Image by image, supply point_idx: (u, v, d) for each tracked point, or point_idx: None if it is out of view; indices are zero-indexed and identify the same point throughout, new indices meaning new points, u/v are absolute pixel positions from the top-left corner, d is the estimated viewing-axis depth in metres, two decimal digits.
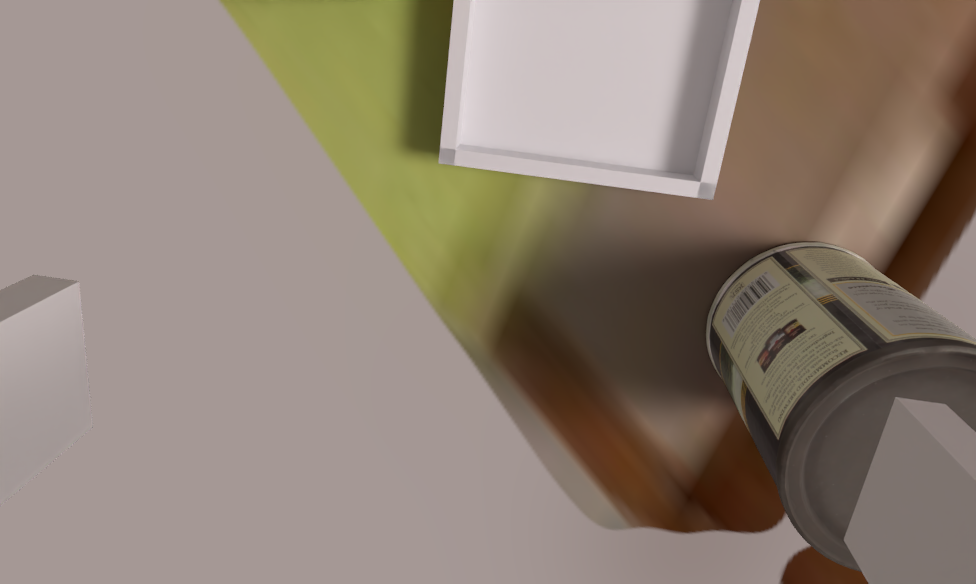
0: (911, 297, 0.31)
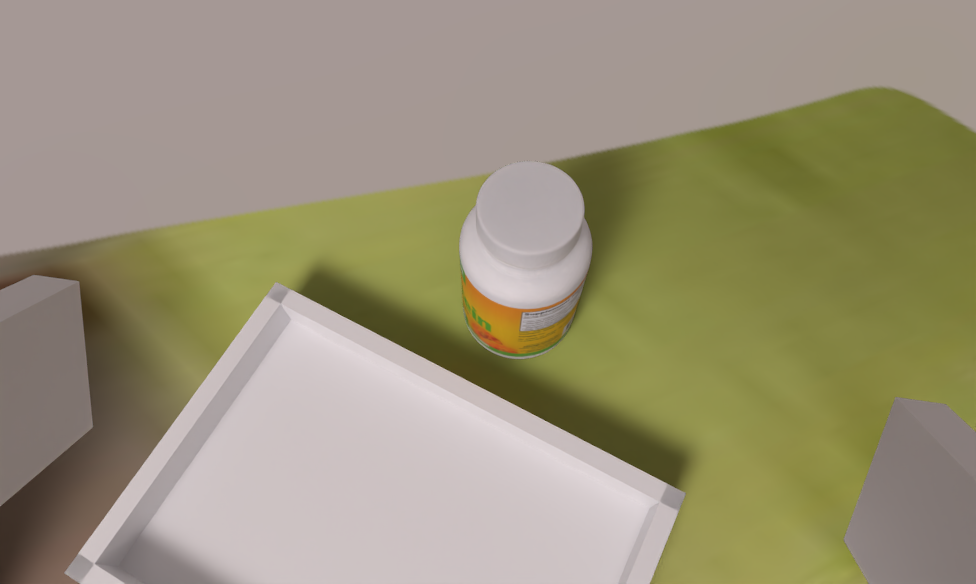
0: None
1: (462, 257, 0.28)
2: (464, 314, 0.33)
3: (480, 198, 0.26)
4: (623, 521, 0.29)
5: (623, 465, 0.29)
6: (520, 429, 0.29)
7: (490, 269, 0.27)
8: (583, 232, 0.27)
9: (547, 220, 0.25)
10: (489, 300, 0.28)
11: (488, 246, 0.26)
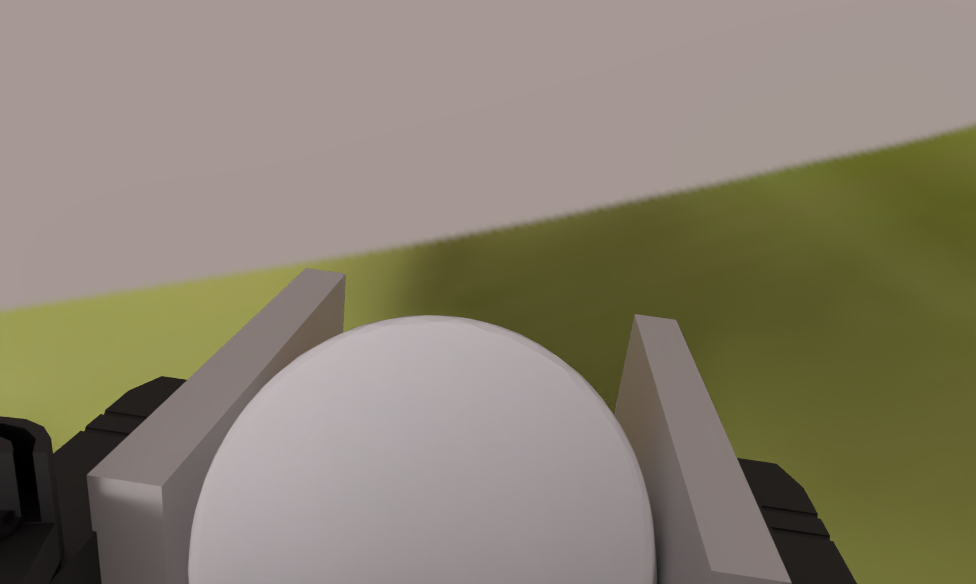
0: None
1: None
2: None
3: (213, 491, 0.06)
4: None
5: None
6: None
7: None
8: None
9: None
10: None
11: None
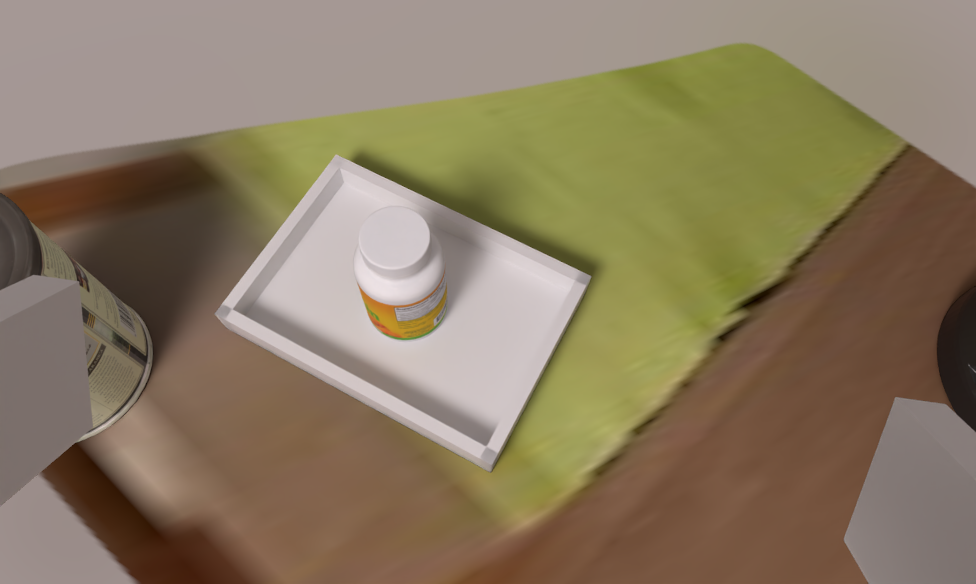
0: None
1: None
2: None
3: (361, 230, 0.38)
4: (555, 299, 0.47)
5: (554, 260, 0.47)
6: (491, 240, 0.47)
7: (370, 277, 0.39)
8: (436, 254, 0.40)
9: (404, 246, 0.38)
10: (371, 298, 0.40)
11: (366, 262, 0.38)
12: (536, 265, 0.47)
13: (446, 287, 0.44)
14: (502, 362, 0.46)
